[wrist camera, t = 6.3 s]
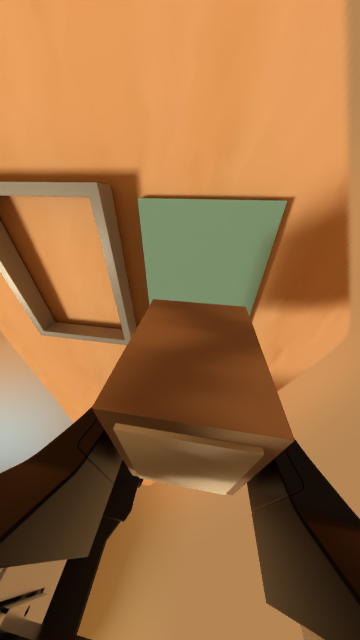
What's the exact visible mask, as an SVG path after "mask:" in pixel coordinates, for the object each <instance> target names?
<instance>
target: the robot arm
mask: <svg viewBox="0 0 360 640" xmlns="http://www.w3.org/2000/svg"><path fill="white" fill-rule="evenodd" d="M92 407H93V406H92ZM92 407H91V408H90V409H89V410H88V411H87V412H86V413H85V414H84V415H83V416H82V417H80V418H79V419H78V420H77V421H76V422H75V423H73V424H72V425H71V426H70V427H69V428H67V429H66V430H65V431H64V432H63V433H62V434H60V435H59V436H58V437H57V438H55V439H54V440H53V441H52V442H50V443H49V444H48V445H47V446H46V447H44V448H43V449H42V450H41V451H39V452H38V453H37V454H35V455H34V456H32V457H31V458H29V459H28V460H26V461H24V462H23V463H21V464H19V465H17V466H14V467H12V468H10V469H8V470H6V471H4V472H2V473H0V640H91V639H87V638H84V637H81V636H77V632H78V629H79V626H80V623H81V620H82V616H83V613H84V610H85V607H86V603H87V600H88V597H89V594H90V591H91V588H92V584H93V581H94V578H95V574H96V572H97V569H98V565H99V562H100V559H101V556H102V553H103V550H104V547H105V544H106V541H107V539H108V538H109V537H110V535H111V534H112V533H113V531H114V530H115V528H116V527H117V526H118V524H119V523H120V522H121V521H124V520H125V519H126V518H127V516H128V515H129V513H130V511H131V509H132V505H133V501H134V497H135V494H136V490H137V487H138V488H139V487H140V486H141V484H142V482H143V479H142V478H139V477H138V476H133V475H132V474H131V472H130V470H129V469H128V467H127V465H126V464H125V462H124V460H123V459H122V457H121V456H120V454H119V452H118V451H117V449H116V447H115V446H114V444H113V442H112V441H111V439H110V438H109V436H108V434H107V433H106V431H105V429H104V428H103V426H102V425H101V423H100V421H99V420H98V418H97V416H96V415H95V413H94V411H93V410H92ZM294 440H295V439H294ZM247 486H248V492H249V499H250V505H251V511H252V517H253V523H254V530H255V536H256V543H257V549H258V555H259V561H260V567H261V574H262V580H263V586H264V592H265V597H266V603H267V604H269V605H271V606H272V607H274V608H275V609H277V610H278V611H280V612H282V613H283V614H285V615H286V616H288V617H289V618H291V619H293V620H294V621H296V622H298V623H299V624H300V626H301V630H302V635H303V639H304V640H360V518H359V517H358V516H357V515H356V514H355V513H354V512H353V511H352V509H351V508H350V507H349V506H348V505H347V504H346V502H345V501H344V500H343V499H342V498H341V497H340V495H339V494H338V493H337V491H336V490H335V489H334V488H333V487H332V485H331V484H330V483H329V482H328V481H327V479H326V478H325V477H324V476H323V475H322V473H321V472H320V471H319V470H318V469H317V468H316V466H315V465H314V464H313V462H312V461H311V460H310V459H309V457H308V456H307V455H306V453H305V452H304V451H303V449H302V448H301V447H300V445H299V444H298V443H297V441H296V440H295V441H294V442H293V443H291V444H290V445H289V446H288V447H287V448H286V449H285V450H283V451H282V452H281V453H280V454H279V455H278V456H277V457H275V458H274V459H273V460H272V461H271V462H270V463H269V464H267V465H266V466H265V467H264V468H263V469H262V470H261V471H259V472H258V473H257V474H256V475H255V476H254V477H253V478H251V479H250V480H249V481H248V482H247Z"/></svg>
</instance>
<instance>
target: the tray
mask: <svg viewBox="0 0 360 640" xmlns="http://www.w3.org/2000/svg"><path fill="white" fill-rule="evenodd" d="M0 196H49V197H90V201H91V205H92V209H93V213H94V217H95V221H96V225H97V229H98V233H99V237H100V241H101V245H102V249H103V253H104V257H105V261H106V265H107V270H108V274H109V278H110V282H111V286H112V290H113V294H114V298H115V302H116V306H117V310H118V314H119V318H120V322H121V326H122V329H117V328H107V327H98V326H88V325H79V324H69V323H60V322H55V320H54V318H53V317H52V315H51V313H50V311H49V309H48V307H47V306H46V304H45V302H44V300H43V298H42V296H41V295H40V293H39V291H38V289H37V287H36V285H35V283H34V282H33V280H32V278H31V276H30V274H29V272H28V271H27V269H26V267H25V265H24V263H23V261H22V260H21V258H20V256H19V254H18V252H17V250H16V248H15V247H14V245H13V243H12V241H11V239H10V237H9V236H8V234H7V232H6V230H5V228H4V226H3V225H2V223H1V221H0V272H1V274H2V275H3V277H4V278H5V280H6V281H7V283H8V285H9V286H10V288H11V289H12V291H13V292H14V294H15V295H16V297H17V298H18V300H19V302H20V303H21V305H22V306H23V308H24V309H25V311H26V312H27V314H28V315H29V317H30V319H31V320H32V322H33V323H34V325H35V326H36V328H37V329H38V331H39V333H40V334H41V335H44V336H52V337H61V338H70V339H78V340H87V341H96V342H104V343H113V344H122V345H128V343H129V341H130V339H131V338H132V336H133V334H134V332H135V331H136V329H137V327H136V322H135V316H134V311H133V305H132V299H131V294H130V288H129V283H128V277H127V272H126V266H125V261H124V255H123V250H122V244H121V239H120V233H119V228H118V222H117V217H116V211H115V206H114V200H113V194H112V189H111V185H109V184H103V183H97V182H0Z"/></svg>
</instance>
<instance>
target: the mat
mask: <svg viewBox="0 0 360 640" xmlns="http://www.w3.org/2000/svg"><path fill="white" fill-rule="evenodd" d="M286 204H287V201H275V200H219V199H163V198H138V207H139V216H140V225H141V234H142V243H143V252H144V261H145V270H146V279H147V288H148V297H149V306H150V304H151V302H152V300H153V299H159V300H171V301H183V302H195V303H207V304H219V305H231V306H243V307H246V309H247V311H248V314H249V317H250V314H251V311H252V308H253V305H254V302H255V299H256V296H257V293H258V290H259V286H260V283H261V280H262V277H263V274H264V271H265V268H266V265H267V262H268V259H269V256H270V253H271V250H272V247H273V244H274V240H275V237H276V234H277V231H278V228H279V225H280V222H281V219H282V216H283V213H284V210H285V207H286Z"/></svg>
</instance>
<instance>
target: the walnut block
mask: <svg viewBox="0 0 360 640" xmlns="http://www.w3.org/2000/svg"><path fill="white" fill-rule="evenodd" d="M92 410H93V411H94V413H95V415H96V416H97V418H98V420H99V421H100V423H101V425H102V426H103V428H104V429H105V431H106V433H107V434H108V436H109V438H110V439H111V441H112V442H113V444H114V446H115V447H116V449H117V451H118V452H119V454H120V456H121V457H122V459H123V460H124V462H125V464H126V465H127V467H128V469H129V470H130V472H131V474H132V475H133V476H138V477H139V478H142V479H147V480H152V481H157V482H162V483H167V484H172V485H178V486H182V487H187V488H192V489H197V490H202V491H208V492H212V493H217V494H222V495H225V494H229V495H233V494H234V493H235V492H237V491H238V490H239V489H240V488H241V487H242V486H243V485H245V484H246V483H247V482H248V481H249V480H250V479H251V478H253V477H254V476H255V475H256V474H257V473H258V472H259V471H261V470H262V469H263V468H264V467H265V466H266V465H267V464H269V463H270V462H271V461H272V460H273V459H274V458H275V457H277V456H278V455H279V454H280V453H281V452H282V451H283V450H285V449H286V448H287V447H288V446H289V445H290V444H291V443H293V442H294V441H295V440H294V437H293V434H292V432H291V429H290V426H289V424H288V421H287V418H286V415H285V413H284V410H283V407H282V404H281V401H280V399H279V396H278V393H277V391H276V388H275V385H274V382H273V380H272V377H271V374H270V371H269V369H268V366H267V363H266V360H265V358H264V355H263V352H262V350H261V347H260V344H259V341H258V339H257V336H256V333H255V330H254V328H253V325H252V322H251V319H250V317H249V314H248V311H247V309H246V307H243V306H231V305H219V304H207V303H195V302H183V301H171V300H159V299H153V300H152V302H151V304H150V306H149V307H148V309H147V311H146V313H145V315H144V316H143V318H142V320H141V322H140V323H139V325H138V327H137V329H136V331H135V332H134V334H133V336H132V338H131V339H130V341H129V343H128V345H127V346H126V348H125V350H124V352H123V354H122V355H121V357H120V359H119V361H118V362H117V364H116V366H115V368H114V369H113V371H112V373H111V375H110V377H109V378H108V380H107V382H106V384H105V385H104V387H103V389H102V391H101V393H100V394H99V396H98V398H97V400H96V401H95V403H94V405H93V407H92Z"/></svg>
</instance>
